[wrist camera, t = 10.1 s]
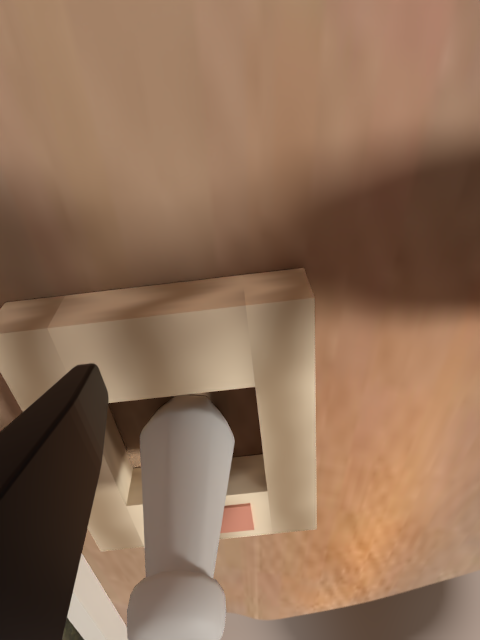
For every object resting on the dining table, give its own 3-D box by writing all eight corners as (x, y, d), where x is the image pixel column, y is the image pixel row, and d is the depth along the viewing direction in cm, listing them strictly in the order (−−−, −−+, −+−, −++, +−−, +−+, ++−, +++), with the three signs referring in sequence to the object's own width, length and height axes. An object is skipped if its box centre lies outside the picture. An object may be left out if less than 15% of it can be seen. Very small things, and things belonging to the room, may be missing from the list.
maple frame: (303, 267, 23) (315, 300, 20) (309, 492, 34) (317, 531, 32) (5, 302, 23) (-22, 338, 21) (108, 513, 34) (100, 554, 32)
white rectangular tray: (58, 514, 34) (45, 552, 32) (130, 633, 47) (126, 667, 45) (-93, 530, 34) (-117, 569, 32) (21, 644, 48) (10, 678, 45)
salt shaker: (153, 447, 30) (119, 680, 20) (136, 387, 27) (83, 627, 16) (236, 440, 30) (248, 669, 20) (229, 379, 27) (238, 613, 16)
